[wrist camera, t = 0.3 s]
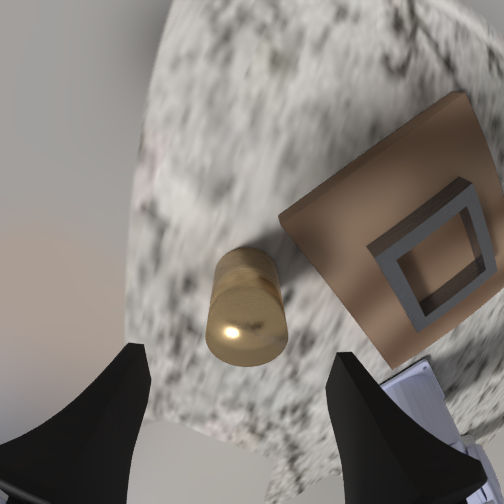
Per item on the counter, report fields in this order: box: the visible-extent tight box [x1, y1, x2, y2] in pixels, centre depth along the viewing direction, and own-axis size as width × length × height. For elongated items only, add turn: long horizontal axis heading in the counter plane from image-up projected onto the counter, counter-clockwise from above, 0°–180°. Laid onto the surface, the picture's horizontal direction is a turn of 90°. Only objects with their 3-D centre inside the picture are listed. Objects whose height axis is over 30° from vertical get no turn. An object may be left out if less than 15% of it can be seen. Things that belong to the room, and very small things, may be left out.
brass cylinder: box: [205, 247, 288, 367], centre depth 18 cm, size 4×4×6 cm
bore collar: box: [366, 176, 498, 333], centre depth 18 cm, size 8×8×2 cm
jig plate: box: [278, 92, 504, 370], centre depth 19 cm, size 16×14×2 cm
